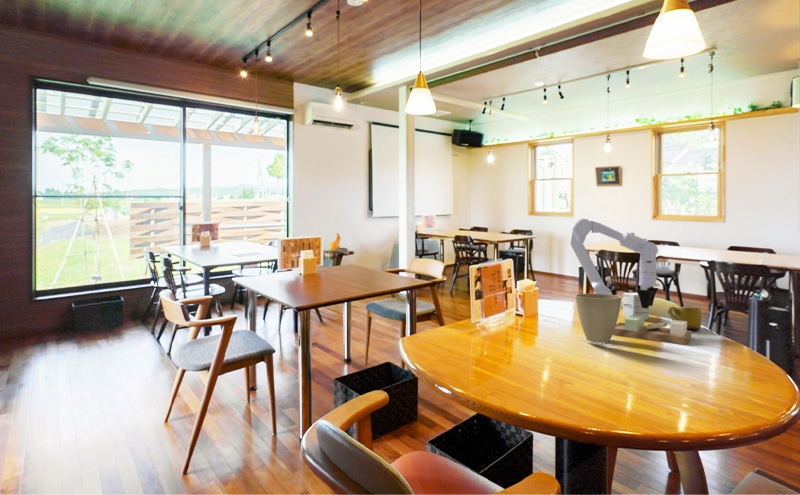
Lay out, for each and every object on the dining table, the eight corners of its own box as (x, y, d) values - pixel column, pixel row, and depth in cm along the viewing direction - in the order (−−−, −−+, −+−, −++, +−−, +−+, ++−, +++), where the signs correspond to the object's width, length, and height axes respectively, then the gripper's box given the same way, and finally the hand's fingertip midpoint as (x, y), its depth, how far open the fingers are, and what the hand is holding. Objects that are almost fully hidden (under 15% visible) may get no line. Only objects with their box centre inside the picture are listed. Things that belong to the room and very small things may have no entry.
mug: (692, 328, 173) (692, 304, 173) (707, 334, 163) (708, 308, 163) (660, 327, 175) (660, 303, 174) (673, 333, 164) (674, 307, 164)
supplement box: (622, 321, 188) (622, 292, 188) (637, 321, 189) (638, 292, 189) (633, 324, 181) (633, 294, 181) (649, 324, 182) (649, 294, 182)
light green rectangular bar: (624, 329, 159) (625, 319, 159) (632, 324, 168) (632, 314, 168) (636, 331, 156) (637, 320, 156) (644, 326, 165) (644, 315, 165)
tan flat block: (646, 329, 158) (645, 326, 158) (649, 326, 162) (648, 324, 162) (664, 327, 154) (664, 324, 155) (667, 324, 158) (666, 322, 158)
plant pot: (620, 338, 156) (620, 294, 156) (622, 347, 143) (622, 299, 142) (575, 334, 162) (576, 292, 162) (573, 342, 149) (574, 297, 148)
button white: (670, 334, 151) (670, 323, 151) (673, 330, 157) (673, 319, 157) (683, 336, 149) (683, 324, 149) (686, 332, 155) (687, 321, 155)
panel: (610, 334, 162) (610, 323, 162) (619, 328, 173) (619, 318, 173) (686, 344, 147) (686, 332, 146) (691, 337, 157) (691, 326, 157)
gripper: (655, 274, 161) (655, 310, 161) (662, 271, 172) (662, 305, 172) (634, 273, 165) (634, 308, 165) (642, 270, 176) (642, 303, 177)
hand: (647, 306), depth 169 cm, fingers open, 7 cm apart
